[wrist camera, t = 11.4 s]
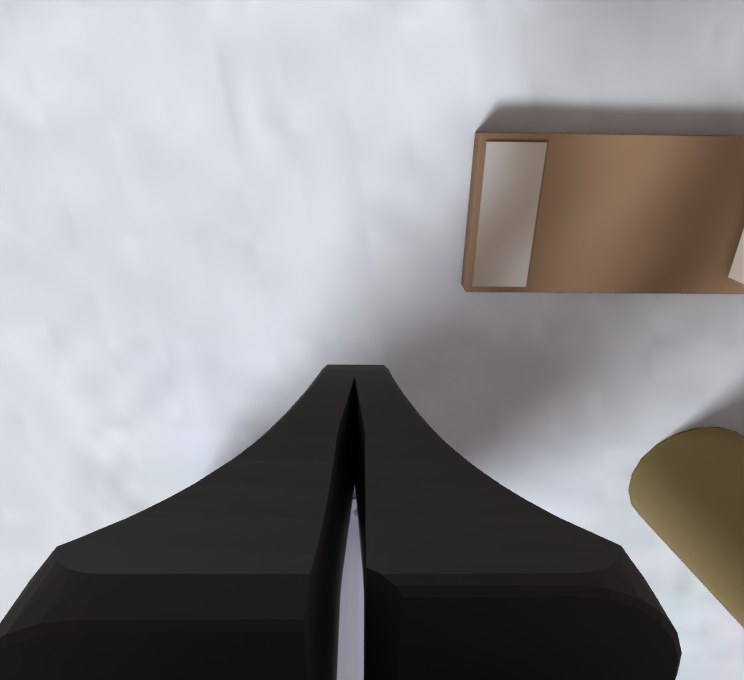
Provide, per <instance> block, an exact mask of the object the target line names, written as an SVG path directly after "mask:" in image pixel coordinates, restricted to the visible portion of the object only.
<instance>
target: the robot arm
mask: <svg viewBox="0 0 744 680" xmlns="http://www.w3.org/2000/svg"><path fill="white" fill-rule="evenodd" d="M354 485H355V491H356V499H353V493H354ZM356 509H357V510H356ZM681 654H682V652H681V648H680V643H679V638H678V634H677V631H676V630H675V628H674V626H673V625H672V623H671V621H670V620H669V618H668V616H667V615H666V613H665V611H664V610H663V608H662V606H661V605H660V603H659V601H658V599H657V598H656V596H655V594H654V593H653V591H652V590H651V588H650V586H649V585H648V583H647V582H646V580H645V578H644V577H643V576H642V574H641V573H640V572H639V570H638V569H637V567H636V566H635V565H634V563H633V562H632V561H631V559H630V558H629V556H628V555H627V554H626V552H625V551H624V549H623V548H622V546H620V545H618V544H616V543H614V542H612V541H609V540H607V539H605V538H603V537H600V536H598V535H596V534H594V533H592V532H589V531H587V530H585V529H583V528H581V527H578V526H576V525H574V524H572V523H570V522H567V521H565V520H563V519H561V518H559V517H557V516H555V515H553V514H551V513H549V512H547V511H545V510H544V509H542V508H540V507H538V506H536V505H535V504H533V503H531V502H529V501H527V500H525V499H524V498H522V497H520V496H519V495H517V494H515V493H514V492H512V491H510V490H509V489H507V488H505V487H504V486H502V485H501V484H499V483H498V482H496V481H495V480H493V479H492V478H491V477H489V476H488V475H486V474H485V473H483V472H482V471H480V470H479V469H478V468H476V467H475V466H474V465H472V464H471V463H470V462H468V461H467V460H466V459H464V458H463V457H462V456H461V455H460V454H459V453H457V452H456V451H455V450H454V449H453V448H451V447H450V446H449V445H448V444H447V443H446V442H445V441H444V440H443V439H442V438H441V437H440V436H439V435H438V434H437V433H436V432H435V431H434V430H433V429H432V428H431V427H430V426H429V425H428V424H427V423H426V421H425V420H424V419H423V418H422V417H421V416H420V415H419V413H418V412H417V411H416V410H415V408H414V407H413V406H412V404H411V403H410V402H409V401H408V399H407V398H406V397H405V395H404V394H403V393H402V391H401V390H400V388H399V387H398V385H397V384H396V382H395V380H394V379H393V377H392V375H391V374H390V372H389V370H388V369H387V368H386V367H385V366H384V365H327V366H325V367H324V368H323V369H322V370H321V372H320V373H319V375H318V376H317V377H316V379H315V380H314V381H313V383H312V384H311V385H310V387H309V388H308V389H307V390H306V391H305V393H304V394H303V395H302V396H301V397H300V398H299V400H298V401H297V402H296V403H295V404H294V405H293V406H292V407H291V409H290V410H289V411H288V412H287V413H286V414H285V415H284V416H283V417H282V418H281V419H280V420H279V421H278V422H277V423H276V424H275V425H274V426H273V427H272V428H271V429H269V430H268V431H267V432H266V433H265V434H264V435H263V436H262V437H261V438H260V439H258V440H257V441H256V442H255V443H254V444H252V445H251V446H250V447H249V448H247V449H246V450H245V451H243V452H242V453H241V454H239V455H238V456H237V457H235V458H234V459H232V460H231V461H229V462H228V463H226V464H225V465H223V466H222V467H220V468H218V469H217V470H215V471H214V472H212V473H211V474H209V475H207V476H206V477H204V478H203V479H201V480H200V481H198V482H196V483H195V484H193V485H191V486H190V487H188V488H186V489H184V490H182V491H180V492H179V493H177V494H175V495H173V496H171V497H169V498H167V499H165V500H163V501H161V502H159V503H157V504H155V505H153V506H151V507H149V508H147V509H145V510H143V511H141V512H139V513H137V514H135V515H133V516H130V517H128V518H126V519H124V520H121V521H119V522H116V523H114V524H112V525H109V526H107V527H104V528H102V529H100V530H97V531H95V532H92V533H90V534H88V535H85V536H83V537H80V538H78V539H76V540H73V541H70V542H68V543H65V544H63V545H60V546H57V547H56V548H55V550H54V551H53V552H52V553H51V555H50V556H49V557H48V558H47V560H46V561H45V562H44V563H43V565H42V566H41V567H40V568H39V570H38V571H37V572H36V573H35V575H34V576H33V577H32V579H31V580H30V581H29V583H28V584H27V586H26V587H25V588H24V590H23V591H22V593H21V594H20V596H19V597H18V598H17V600H16V601H15V603H14V604H13V606H12V607H11V609H10V610H9V611H8V613H7V614H6V616H5V617H4V619H3V620H2V621H1V623H0V680H675V678H676V676H677V673H678V668H679V663H680V659H681Z"/></svg>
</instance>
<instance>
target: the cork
mask: <svg viewBox="0 0 744 680" xmlns="http://www.w3.org/2000/svg"><path fill="white" fill-rule="evenodd" d="M629 495H630V500H631V504H632V506H633V507H634V508H635V510H636V511H637V512H638V514H639V515H640V516H641V517H642V518H643V519H644V521H645V522H646V523H647V524H648V525H649V526H650V527H651V528H652V529H653V530H654V531H655V532H656V534H657V535H658V536H659V537H660V538H661V539H662V540H663V541H664V542H665V543H666V544H667V546H668V547H669V548H670V549H671V550H672V551H673V552H674V553H675V554H676V555H677V556H678V557H679V559H680V560H681V561H682V562H683V563H684V564H685V565H686V566H687V567H688V568H689V569H690V570H691V572H692V573H693V574H694V575H695V576H696V577H697V578H698V579H699V580H700V581H701V582H702V583H703V585H704V586H705V587H706V588H707V589H708V590H709V591H710V592H711V593H712V594H713V595H714V596H715V598H716V599H717V600H718V601H719V602H720V603H721V604H722V605H723V606H724V607H725V608H726V609H727V611H728V612H729V613H730V614H731V615H732V616H733V617H734V618H735V619H736V620H737V621H738V623H739V624H740V625H741V626H742V627H743V628H744V437H743V436H741V435H740V434H738V433H737V432H734V431H730V430H726V429H723V428H719V427H715V428H696V429H693V430H689V431H686V432H682V433H679V434H676V435H674V436H672V437H670V438H668V439H667V440H665V441H663V442H661V443H659V444H657V445H656V446H655V447H654V448H653V449H652V450H651V451H650V452H648V453H647V454H646V455H645V456H644V457H643V458H642V459H641V461H640V462H639V464H638V465H637V467H636V469H635V470H634V472H633V473H632V477H631V481H630V485H629Z"/></svg>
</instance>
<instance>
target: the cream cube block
mask: <svg viewBox="0 0 744 680" xmlns="http://www.w3.org/2000/svg"><path fill="white" fill-rule="evenodd" d="M728 277H729V278H731V279H733V280H735V281H738V282H740V283H742V284H744V229H743V232H742V235H741V238H740V242H739V245H738V248H737V251H736V254H735V257H734V260H733V263H732V266H731V269H730V272H729V276H728Z"/></svg>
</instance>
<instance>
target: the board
mask: <svg viewBox="0 0 744 680" xmlns="http://www.w3.org/2000/svg"><path fill="white" fill-rule="evenodd" d="M743 229H744V136H712V135H637V134H563V133H488V132H475V140H474V151H473V161H472V172H471V183H470V194H469V205H468V216H467V227H466V238H465V249H464V260H463V271H462V282H461V284H462V286H463V287H464V289H465V291H466V292H555V293H679V294H744V284H742V283H740V282H738V281H735V280H733V279H731V278H729V277H728V276H729V272H730V269H731V266H732V263H733V260H734V257H735V254H736V251H737V248H738V245H739V242H740V238H741V235H742V232H743Z"/></svg>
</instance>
